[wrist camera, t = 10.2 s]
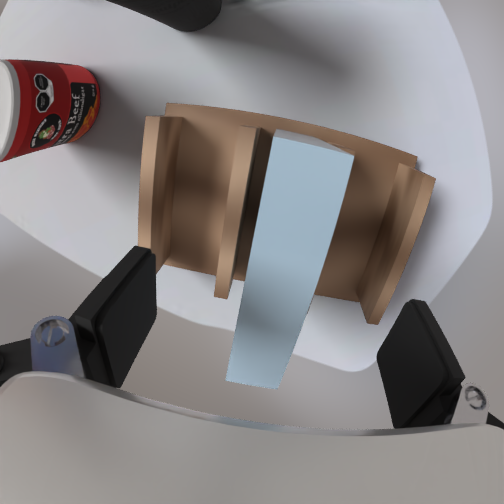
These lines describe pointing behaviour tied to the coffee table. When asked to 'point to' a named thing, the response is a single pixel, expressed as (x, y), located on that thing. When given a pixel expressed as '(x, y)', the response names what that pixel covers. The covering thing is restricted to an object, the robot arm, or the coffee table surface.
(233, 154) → the dish rack
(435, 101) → the coffee table surface
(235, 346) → the light blue square slab
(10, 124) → the canned food
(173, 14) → the drinking cup
